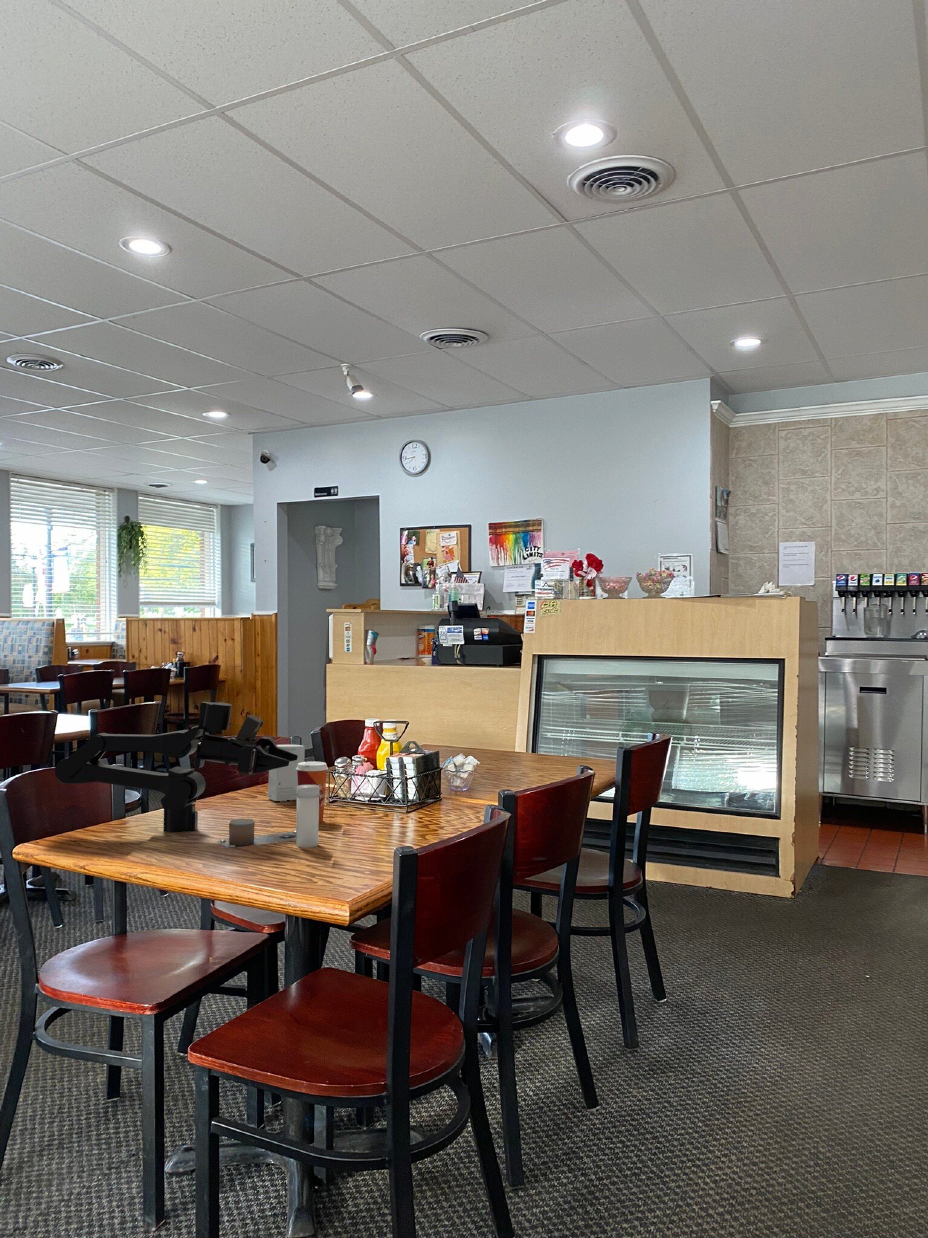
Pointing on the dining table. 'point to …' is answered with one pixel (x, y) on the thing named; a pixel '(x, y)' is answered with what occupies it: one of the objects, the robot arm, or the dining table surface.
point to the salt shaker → (307, 816)
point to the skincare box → (285, 776)
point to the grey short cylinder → (241, 831)
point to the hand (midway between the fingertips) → (293, 760)
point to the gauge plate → (263, 839)
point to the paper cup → (314, 780)
